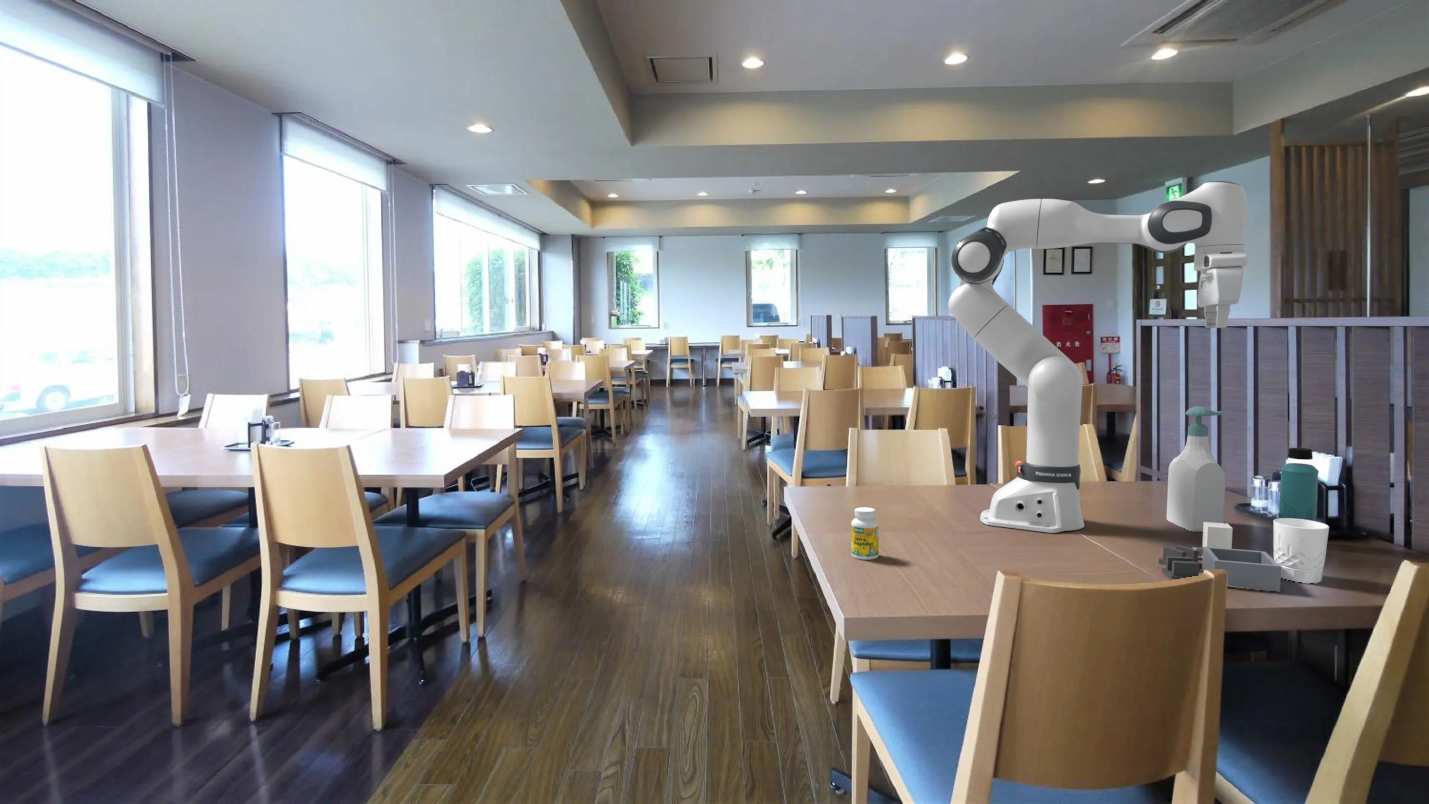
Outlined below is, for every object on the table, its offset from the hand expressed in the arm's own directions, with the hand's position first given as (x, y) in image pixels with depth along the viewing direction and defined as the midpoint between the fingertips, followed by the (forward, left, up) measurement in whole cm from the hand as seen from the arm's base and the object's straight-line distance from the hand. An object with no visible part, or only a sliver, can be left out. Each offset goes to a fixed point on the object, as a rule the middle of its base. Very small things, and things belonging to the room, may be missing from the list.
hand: (1215, 328), depth 160 cm
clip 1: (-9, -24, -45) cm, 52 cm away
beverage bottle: (+16, +2, -45) cm, 48 cm away
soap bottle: (0, +11, -45) cm, 46 cm away
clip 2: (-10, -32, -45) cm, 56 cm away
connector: (-2, -18, -45) cm, 49 cm away
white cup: (+10, -26, -45) cm, 53 cm away
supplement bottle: (-66, -39, -45) cm, 89 cm away
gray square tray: (-1, -31, -45) cm, 55 cm away
